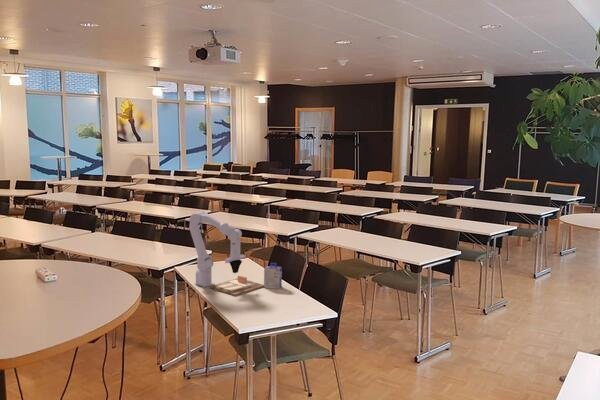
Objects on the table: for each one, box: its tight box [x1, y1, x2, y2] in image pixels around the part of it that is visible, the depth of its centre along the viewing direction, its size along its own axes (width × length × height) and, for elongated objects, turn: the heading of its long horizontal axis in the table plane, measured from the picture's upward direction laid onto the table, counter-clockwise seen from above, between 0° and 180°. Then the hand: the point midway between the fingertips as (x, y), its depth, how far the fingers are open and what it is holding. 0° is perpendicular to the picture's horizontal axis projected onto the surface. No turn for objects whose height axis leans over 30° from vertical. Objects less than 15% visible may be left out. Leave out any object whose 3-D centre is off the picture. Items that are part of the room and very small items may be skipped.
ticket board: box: [208, 277, 264, 297], centre depth 294 cm, size 22×24×2 cm
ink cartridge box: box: [263, 262, 283, 290], centre depth 296 cm, size 10×6×14 cm, turn 78°
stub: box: [228, 275, 251, 288], centre depth 296 cm, size 14×6×5 cm, turn 51°
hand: (235, 272), depth 292 cm, fingers closed
